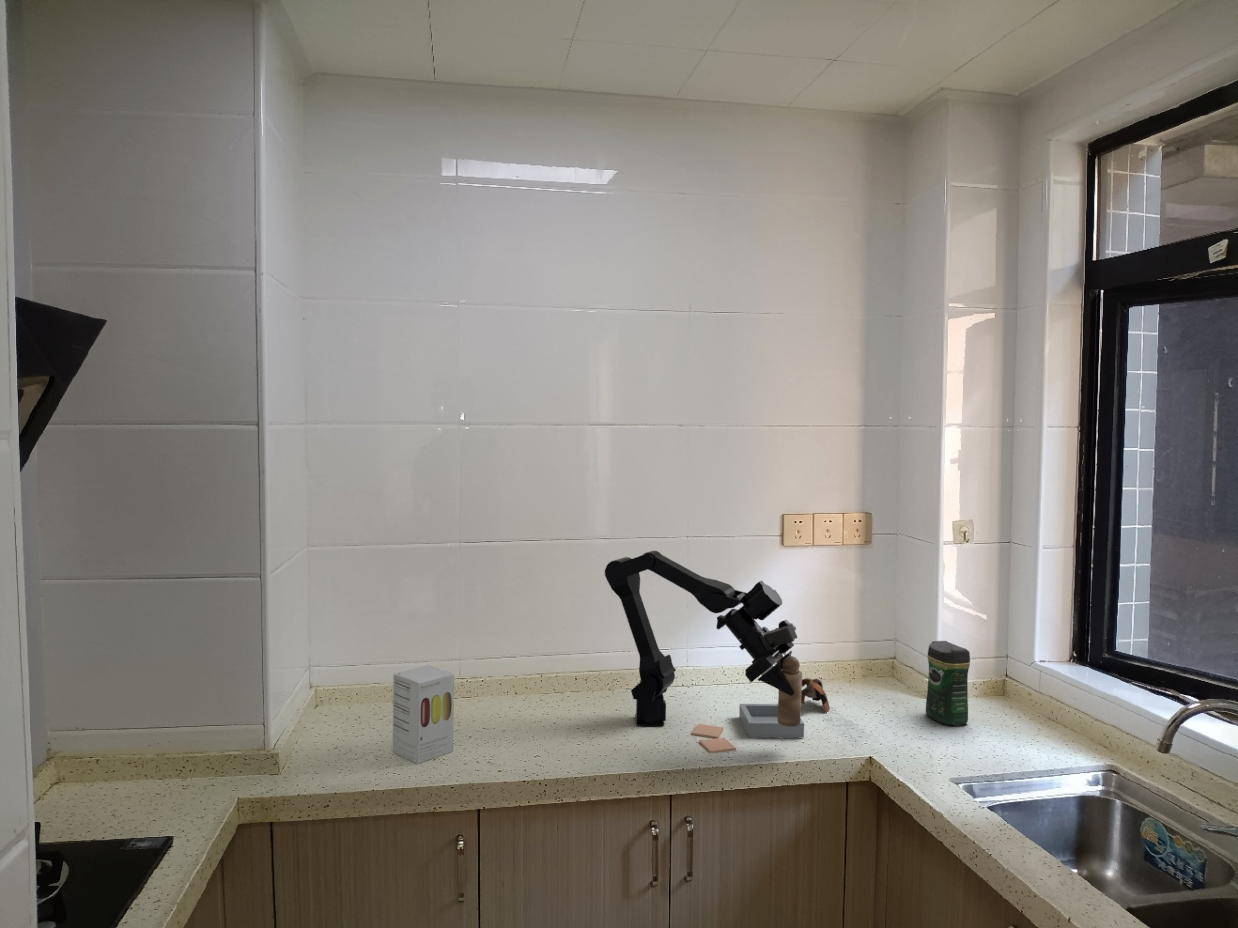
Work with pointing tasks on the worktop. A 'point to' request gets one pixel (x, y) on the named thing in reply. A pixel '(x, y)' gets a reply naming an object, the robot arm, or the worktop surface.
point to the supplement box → (423, 713)
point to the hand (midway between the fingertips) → (796, 690)
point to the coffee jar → (948, 683)
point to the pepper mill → (789, 704)
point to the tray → (766, 722)
